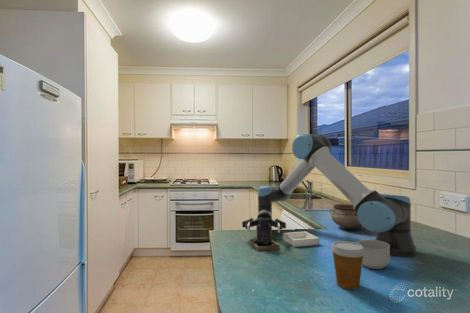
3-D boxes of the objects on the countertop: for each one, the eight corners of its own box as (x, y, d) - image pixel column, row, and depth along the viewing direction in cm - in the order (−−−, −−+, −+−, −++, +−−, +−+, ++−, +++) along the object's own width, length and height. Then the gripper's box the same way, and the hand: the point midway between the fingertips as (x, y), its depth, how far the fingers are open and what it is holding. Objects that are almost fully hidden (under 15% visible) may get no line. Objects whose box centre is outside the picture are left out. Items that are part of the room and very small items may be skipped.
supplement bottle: (255, 244, 126) (255, 217, 126) (270, 243, 126) (270, 217, 126) (257, 249, 119) (257, 220, 119) (273, 248, 119) (273, 220, 119)
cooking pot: (380, 229, 149) (380, 207, 149) (363, 236, 137) (363, 211, 137) (337, 221, 168) (337, 201, 168) (319, 226, 156) (319, 205, 156)
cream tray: (319, 244, 124) (319, 238, 124) (294, 247, 121) (294, 240, 121) (305, 237, 135) (305, 231, 135) (282, 239, 132) (282, 233, 132)
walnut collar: (279, 248, 119) (279, 245, 119) (257, 250, 116) (257, 247, 116) (270, 241, 129) (270, 238, 129) (249, 243, 126) (249, 240, 126)
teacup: (394, 273, 93) (394, 249, 93) (360, 270, 95) (360, 247, 96) (381, 258, 107) (381, 237, 107) (351, 256, 109) (351, 236, 109)
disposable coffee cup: (371, 291, 80) (371, 249, 80) (339, 293, 80) (339, 250, 80) (354, 277, 90) (354, 240, 90) (326, 278, 89) (325, 241, 89)
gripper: (289, 226, 142) (292, 238, 121) (240, 225, 146) (235, 236, 125) (289, 211, 142) (292, 221, 121) (240, 211, 146) (235, 219, 125)
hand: (263, 229), depth 123 cm, fingers open, 13 cm apart
